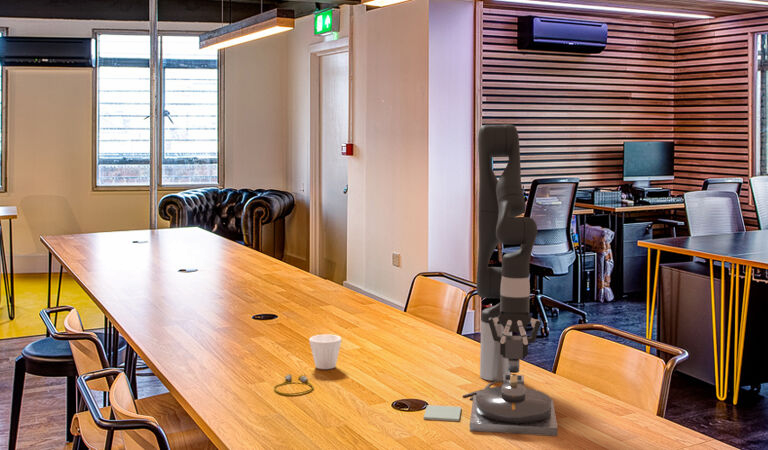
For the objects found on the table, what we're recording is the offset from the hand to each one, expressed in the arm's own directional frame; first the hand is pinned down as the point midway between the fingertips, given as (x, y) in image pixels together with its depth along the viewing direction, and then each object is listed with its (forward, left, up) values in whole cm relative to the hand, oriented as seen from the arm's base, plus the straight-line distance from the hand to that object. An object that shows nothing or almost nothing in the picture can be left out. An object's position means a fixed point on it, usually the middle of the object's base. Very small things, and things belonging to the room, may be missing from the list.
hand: (513, 356), depth 206 cm
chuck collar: (+7, 0, -12) cm, 14 cm away
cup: (-28, -57, -14) cm, 65 cm away
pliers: (-13, -5, -15) cm, 20 cm away
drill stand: (+7, 0, -14) cm, 16 cm away
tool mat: (+7, -18, -14) cm, 24 cm away
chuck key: (0, 0, -4) cm, 4 cm away
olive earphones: (-8, -62, -15) cm, 64 cm away
